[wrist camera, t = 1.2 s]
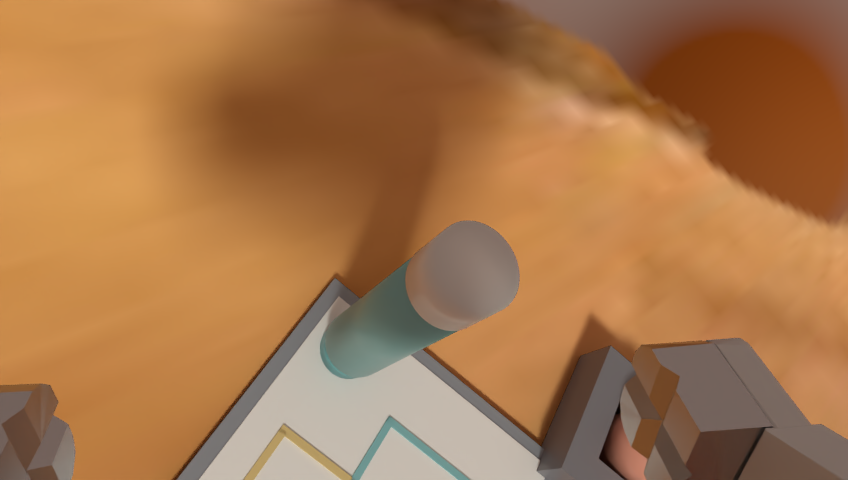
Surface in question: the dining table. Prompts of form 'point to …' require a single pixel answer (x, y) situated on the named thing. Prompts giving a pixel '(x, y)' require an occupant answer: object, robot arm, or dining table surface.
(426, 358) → the picture board
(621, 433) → the button
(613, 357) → the button housing
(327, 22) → the dining table surface
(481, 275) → the marker
